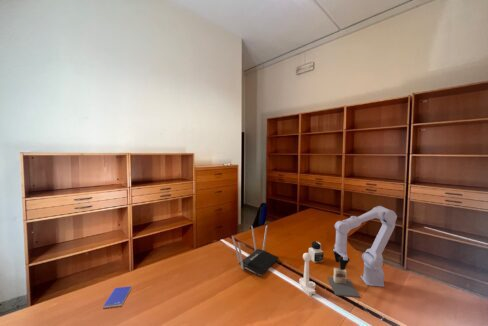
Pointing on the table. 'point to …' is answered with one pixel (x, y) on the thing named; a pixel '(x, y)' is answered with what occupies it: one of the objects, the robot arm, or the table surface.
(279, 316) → the table surface
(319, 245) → the medicine bottle
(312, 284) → the joystick
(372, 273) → the robot arm
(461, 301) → the table surface
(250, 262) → the wireless router
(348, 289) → the mat
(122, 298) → the hard drive
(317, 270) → the table surface
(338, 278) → the slab
